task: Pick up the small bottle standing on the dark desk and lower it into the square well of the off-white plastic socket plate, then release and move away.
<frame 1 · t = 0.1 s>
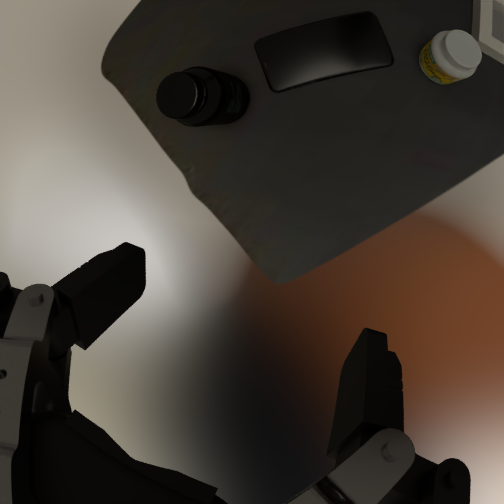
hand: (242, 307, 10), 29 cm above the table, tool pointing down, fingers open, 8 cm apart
smartphone: (324, 50, 28), on the table
socket plate: (503, 33, 17), on the table
supplement bottle 2: (437, 64, 24), on the table
supplement bottle: (226, 99, 35), on the table
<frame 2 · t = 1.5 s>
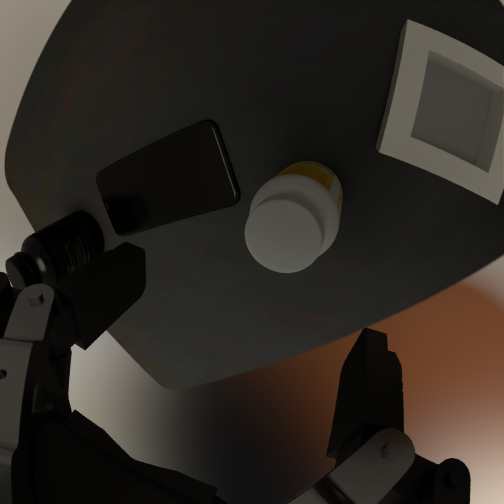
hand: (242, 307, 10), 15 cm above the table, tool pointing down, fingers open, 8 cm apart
smartphone: (160, 183, 27), on the table
socket plate: (449, 111, 16), on the table
supplement bottle 2: (309, 191, 23), on the table
supplement bottle: (88, 234, 34), on the table
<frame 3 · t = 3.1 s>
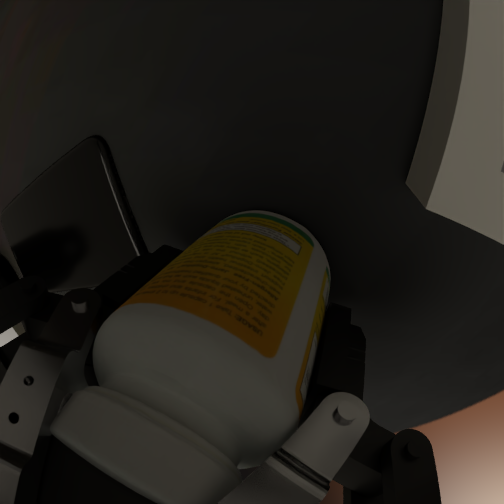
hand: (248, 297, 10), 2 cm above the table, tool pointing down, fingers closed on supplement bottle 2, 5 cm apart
smartphone: (59, 232, 17), on the table
supplement bottle 2: (266, 267, 12), on the table, touching gripper
supplement bottle: (12, 282, 23), on the table
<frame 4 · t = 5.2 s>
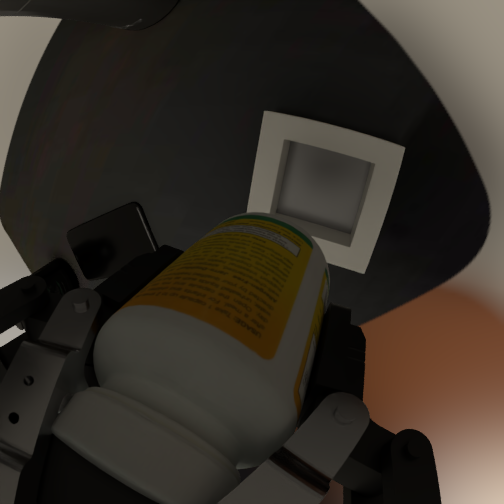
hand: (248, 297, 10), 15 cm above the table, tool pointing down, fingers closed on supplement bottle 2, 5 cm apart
smartphone: (111, 244, 34), on the table
socket plate: (323, 185, 23), on the table
supplement bottle 2: (265, 268, 12), point 13 cm above the table, touching gripper
supplement bottle: (67, 276, 40), on the table
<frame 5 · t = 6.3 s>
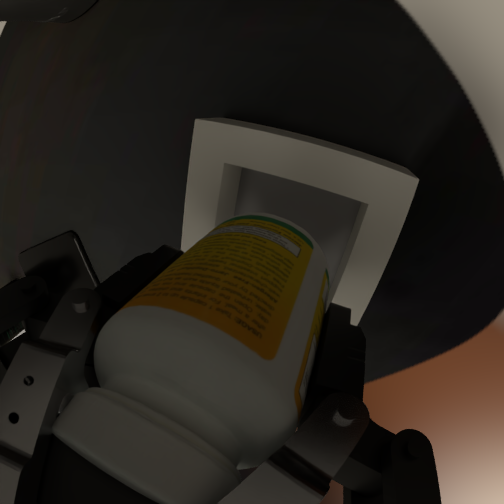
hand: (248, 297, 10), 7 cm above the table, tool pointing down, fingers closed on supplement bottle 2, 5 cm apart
smartphone: (58, 273, 27), on the table
socket plate: (290, 225, 16), on the table
supplement bottle 2: (266, 268, 12), point 5 cm above the table, touching gripper
supplement bottle: (26, 298, 34), on the table
when the fingers open (4 cm above the table, at t = 7.4 s): supplement bottle 2 drops 1 cm, resting on socket plate.
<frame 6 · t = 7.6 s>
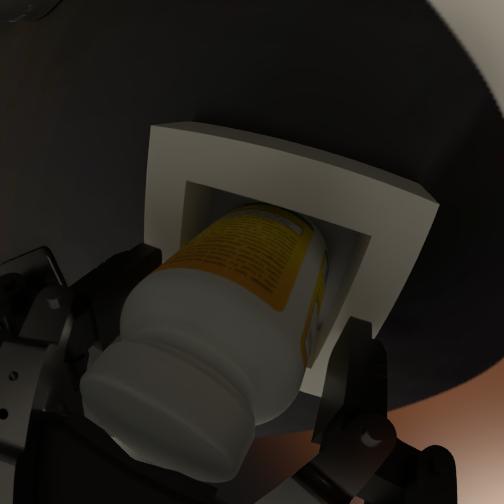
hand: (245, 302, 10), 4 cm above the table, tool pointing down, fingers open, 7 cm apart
smartphone: (37, 287, 25), on the table
socket plate: (275, 252, 14), on the table
supplement bottle 2: (271, 252, 13), resting on socket plate
supplement bottle: (11, 309, 31), on the table
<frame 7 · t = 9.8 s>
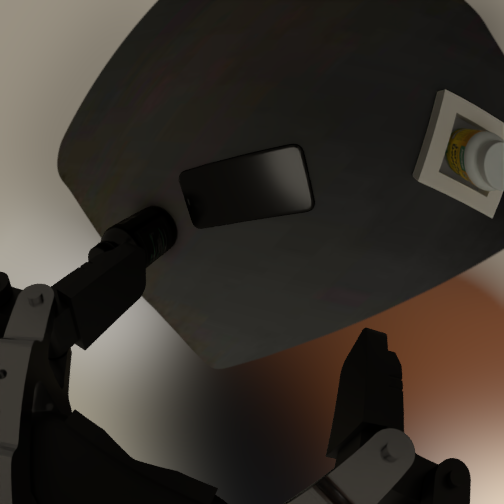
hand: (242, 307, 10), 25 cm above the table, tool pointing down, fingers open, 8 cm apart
smartphone: (244, 187, 35), on the table
socket plate: (464, 152, 24), on the table
supplement bottle 2: (463, 151, 24), resting on socket plate
supplement bottle: (158, 227, 41), on the table
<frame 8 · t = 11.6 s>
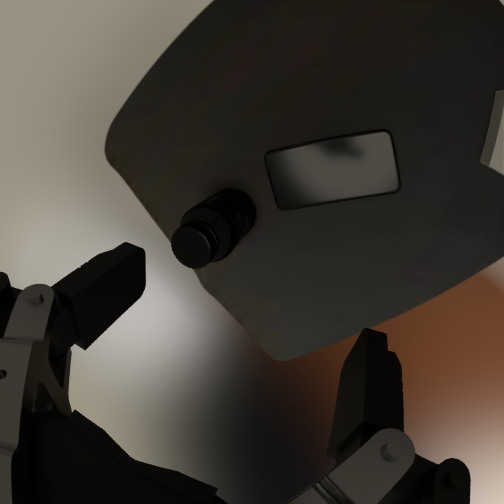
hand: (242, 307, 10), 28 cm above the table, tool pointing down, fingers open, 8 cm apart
smartphone: (333, 169, 34), on the table
supplement bottle: (233, 211, 40), on the table
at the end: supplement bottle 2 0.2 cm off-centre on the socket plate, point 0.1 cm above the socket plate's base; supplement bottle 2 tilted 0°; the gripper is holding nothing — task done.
